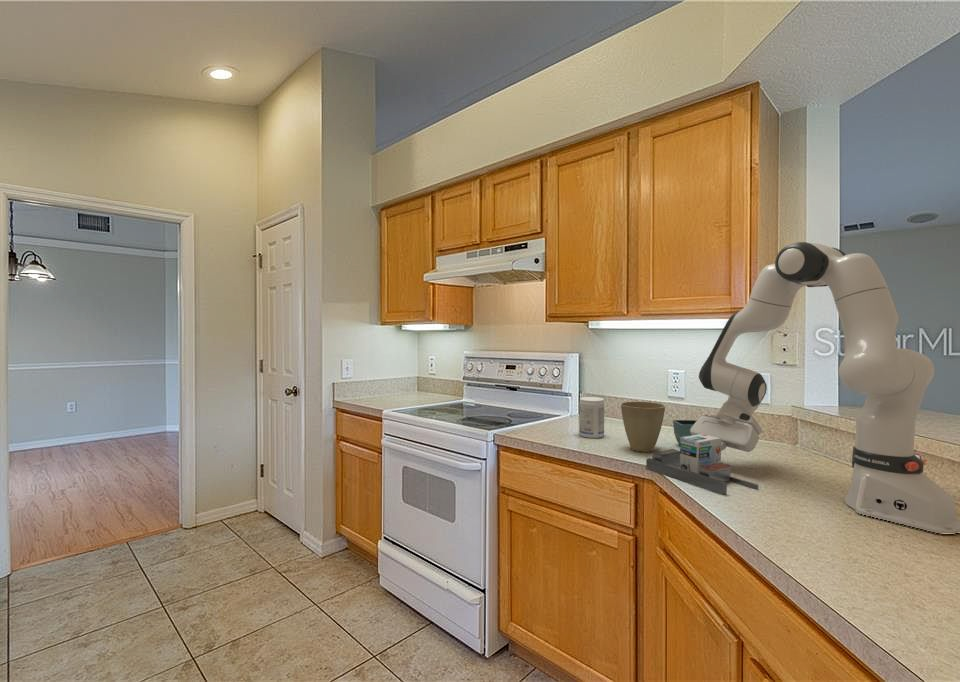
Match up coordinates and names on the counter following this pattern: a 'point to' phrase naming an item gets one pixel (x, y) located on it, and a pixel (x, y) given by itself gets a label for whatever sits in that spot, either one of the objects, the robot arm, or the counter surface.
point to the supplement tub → (591, 417)
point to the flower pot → (682, 428)
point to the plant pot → (642, 424)
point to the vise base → (688, 472)
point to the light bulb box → (699, 451)
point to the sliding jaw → (716, 471)
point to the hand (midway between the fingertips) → (710, 453)
